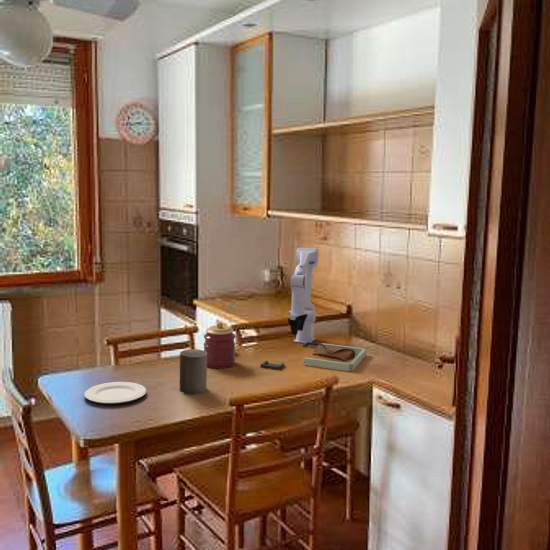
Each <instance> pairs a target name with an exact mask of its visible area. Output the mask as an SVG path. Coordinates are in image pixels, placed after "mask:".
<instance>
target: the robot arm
mask: <svg viewBox="0 0 550 550" xmlns="http://www.w3.org/2000/svg"><path fill="white" fill-rule="evenodd" d="M295 255H296V257H295V258H296V262H297V265H296V267H295V270H294V272H293V275H291V278H290V291H291V310H288V314H290V316H289V317H288V318H287V322H288V323H289V326H290V331H291V335H293V336H294V335H295V336H296V337H295V339H294V340H293V342H294V343H302V344H305V343H306V342H312V343H313V341H315V340H316V337H314V334H315V333H314V330H315V329H314V328H315V326H314V323H315V321H316V318H317V317H316V316H317V314H316V310H317V309H316V306H315V304H313V303H312V302H311V296H312V285H313V284H312V283H313V271H314V268H315V267H317V266H318V264H319V248H317V247H314V248H313V247H300V246H299V247H298V248H296V253H295Z"/></svg>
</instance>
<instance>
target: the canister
mask: <svg viewBox="0 0 550 550" xmlns="http://www.w3.org/2000/svg"><path fill="white" fill-rule="evenodd" d="M205 332H206V333H205V334H204V335H203V338H204V342H203V351H205V352H207V368H208V367H209V368H212V369H227V368H230V367H234V366H235V362H236V345H237V344H236V342H235V339H236V338H237V337H236V335H235V334H234V329H233V328H232V327H230V326H229V325H224V323H223V322H221V321H218V322H217V323H216V325H211V326H209V327H208V328H207V329H205Z"/></svg>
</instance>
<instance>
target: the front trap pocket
mask: <svg viewBox="0 0 550 550" xmlns="http://www.w3.org/2000/svg"><path fill="white" fill-rule="evenodd" d="M283 366H284V367H285V362H282V363H280V364H278V363H271V362H269V361H268V360H264V361H263V362H262V363H261V364H260V368H261V367H264V368H263V369H268V368H271V369H270V370H275V369H278V370H277V371H280V370H282V368H284V367H283ZM279 369H280V370H279Z"/></svg>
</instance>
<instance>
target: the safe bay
mask: <svg viewBox="0 0 550 550" xmlns="http://www.w3.org/2000/svg"><path fill="white" fill-rule="evenodd" d="M321 344H323V345H327V346H334V347H339V348H344V349H351V350H354V352H355V357H354V358H353V359H352V360H351V362H350V363H349V362H344V361H336V360H334V361H333V360H327V359H320V358H311V357H306V356H305V357H303V365H304V366H306V365H308V367H313V366H315V367H314V368H321V367H322V368H323V369H330V370H336V371H343V372H344V371H345V372H348V373H349V372H350V373H352V372H354V370H355V369H356V368H357V367H358V366H359V365H360V363H361V362H362V361H363V360H364V359H365V357H366V356H367V348H362V347H356V346H355V347H354V346H347V345H340V344H332V343H325V342H324V343H321ZM362 359H363V360H362ZM356 366H357V367H356Z"/></svg>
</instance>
